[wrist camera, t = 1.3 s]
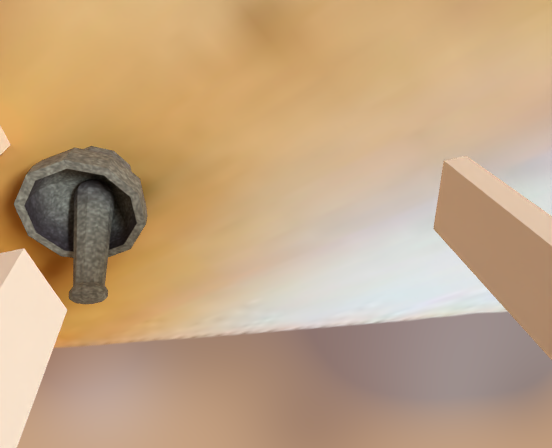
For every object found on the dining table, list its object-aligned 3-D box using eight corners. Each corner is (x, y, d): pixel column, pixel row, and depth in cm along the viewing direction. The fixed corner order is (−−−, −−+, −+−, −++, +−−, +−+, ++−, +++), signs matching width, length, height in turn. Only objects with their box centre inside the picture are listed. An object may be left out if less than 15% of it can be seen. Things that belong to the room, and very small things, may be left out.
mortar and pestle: (28, 130, 33) (-41, 200, 23) (139, 124, 34) (118, 187, 24) (68, 233, 39) (27, 322, 29) (160, 225, 40) (150, 307, 31)
